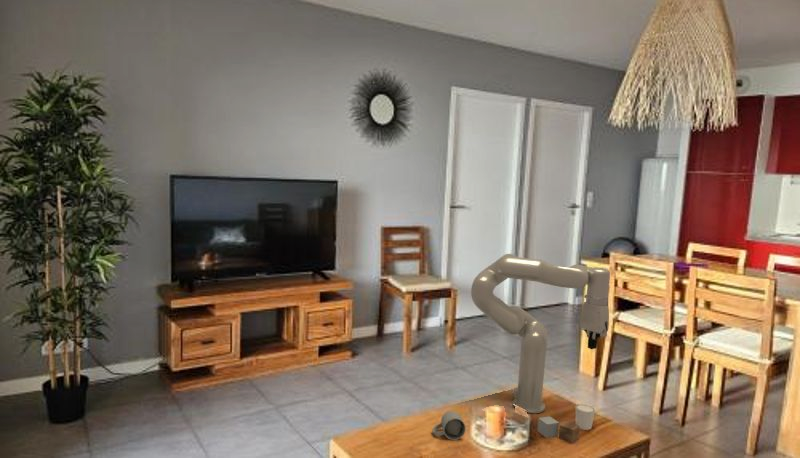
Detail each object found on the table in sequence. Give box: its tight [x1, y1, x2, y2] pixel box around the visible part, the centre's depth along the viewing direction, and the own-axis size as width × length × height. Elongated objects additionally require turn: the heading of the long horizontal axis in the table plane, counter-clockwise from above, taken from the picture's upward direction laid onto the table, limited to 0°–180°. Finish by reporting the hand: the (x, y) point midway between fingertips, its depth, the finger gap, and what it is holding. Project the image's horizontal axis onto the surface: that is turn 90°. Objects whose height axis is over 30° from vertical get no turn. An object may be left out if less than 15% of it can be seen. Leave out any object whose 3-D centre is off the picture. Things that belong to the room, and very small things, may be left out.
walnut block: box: [558, 420, 581, 445], centre depth 189 cm, size 5×5×5 cm
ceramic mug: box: [432, 410, 466, 441], centre depth 187 cm, size 11×8×8 cm
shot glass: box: [574, 404, 596, 431], centre depth 199 cm, size 7×7×7 cm
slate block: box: [536, 415, 560, 439], centre depth 192 cm, size 5×5×5 cm
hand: (591, 348), depth 204 cm, fingers closed
